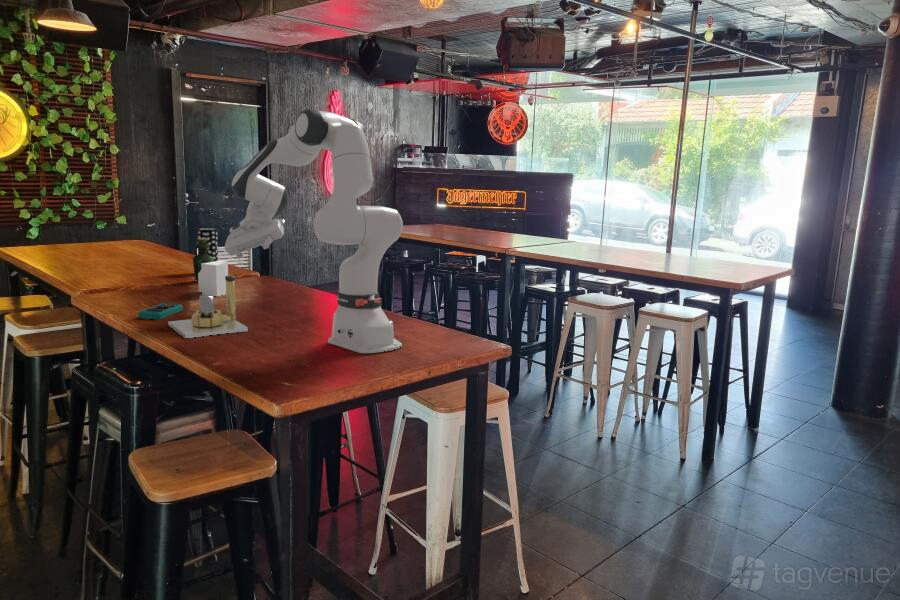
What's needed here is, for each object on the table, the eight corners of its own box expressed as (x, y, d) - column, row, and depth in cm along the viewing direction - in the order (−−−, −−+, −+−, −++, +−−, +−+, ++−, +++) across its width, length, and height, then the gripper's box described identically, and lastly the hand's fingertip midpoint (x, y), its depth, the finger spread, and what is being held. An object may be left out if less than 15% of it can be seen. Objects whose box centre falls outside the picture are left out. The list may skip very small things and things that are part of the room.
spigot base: (247, 331, 193) (247, 298, 191) (185, 338, 183) (184, 304, 181) (225, 318, 209) (224, 287, 207) (167, 324, 198) (165, 292, 196)
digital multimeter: (184, 311, 217) (183, 303, 216) (159, 321, 202) (158, 312, 202) (163, 310, 218) (163, 301, 217) (137, 320, 203) (137, 310, 203)
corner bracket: (216, 297, 241) (215, 265, 238) (192, 293, 244) (191, 262, 242) (235, 292, 250) (234, 261, 248) (211, 289, 254) (210, 259, 252)
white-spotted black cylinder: (206, 275, 284) (205, 230, 280) (194, 273, 288) (193, 228, 284) (222, 273, 291) (221, 229, 287) (210, 271, 295) (209, 227, 291)
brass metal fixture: (204, 328, 189) (202, 283, 186) (186, 323, 194) (185, 279, 191) (243, 320, 200) (242, 277, 198) (226, 315, 205) (225, 274, 202)
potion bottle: (189, 281, 269) (187, 238, 265) (206, 279, 275) (204, 237, 272) (201, 283, 264) (199, 240, 261) (218, 281, 271) (216, 239, 267)
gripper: (289, 224, 218) (285, 248, 208) (235, 243, 222) (229, 269, 211) (279, 209, 214) (275, 234, 204) (225, 230, 217) (219, 255, 207)
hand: (252, 252), depth 208 cm, fingers open, 8 cm apart
